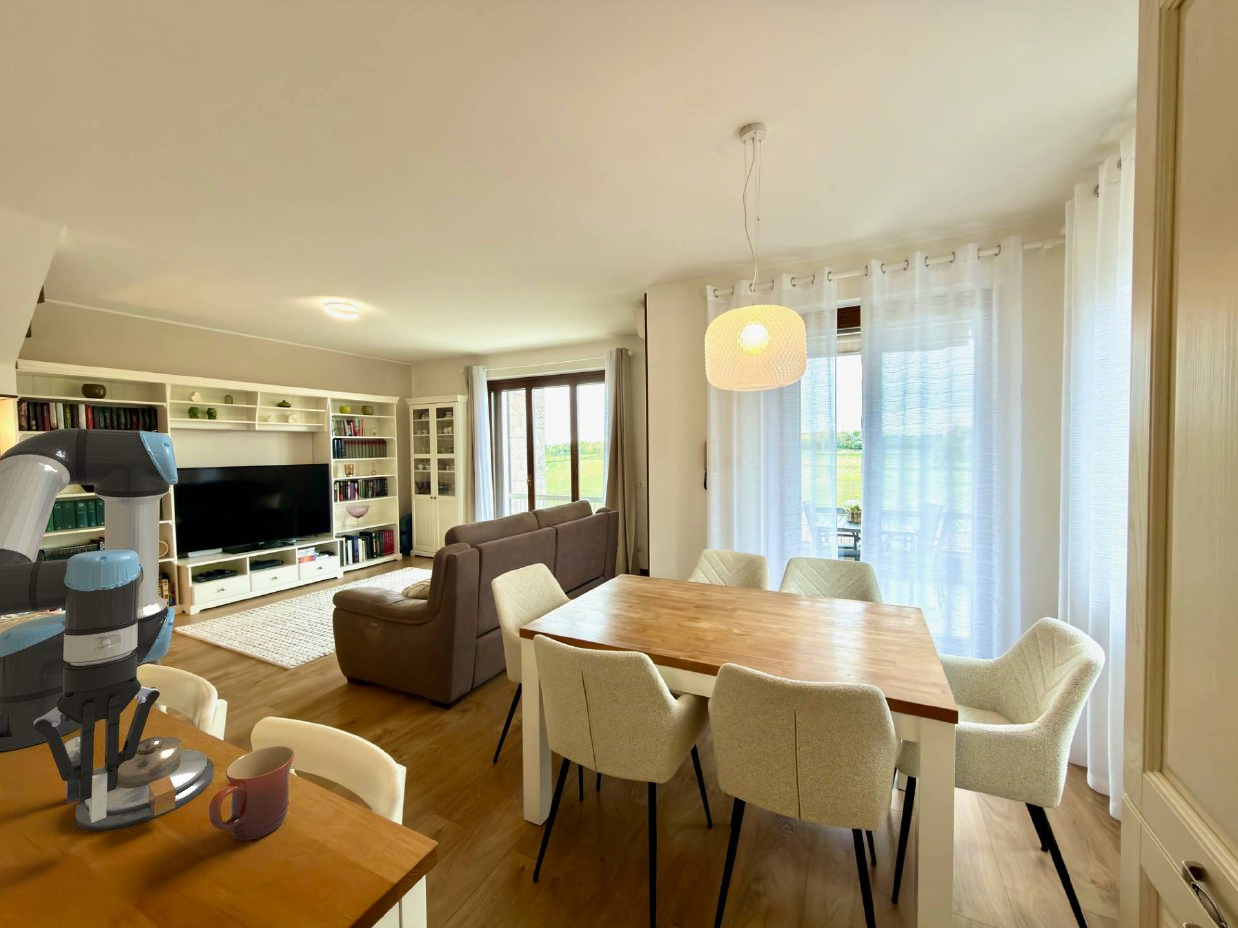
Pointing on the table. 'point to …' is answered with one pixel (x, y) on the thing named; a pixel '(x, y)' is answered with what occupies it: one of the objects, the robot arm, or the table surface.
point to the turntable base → (145, 813)
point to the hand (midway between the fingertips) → (97, 815)
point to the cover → (150, 762)
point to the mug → (255, 793)
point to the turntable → (158, 788)
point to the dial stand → (73, 752)
